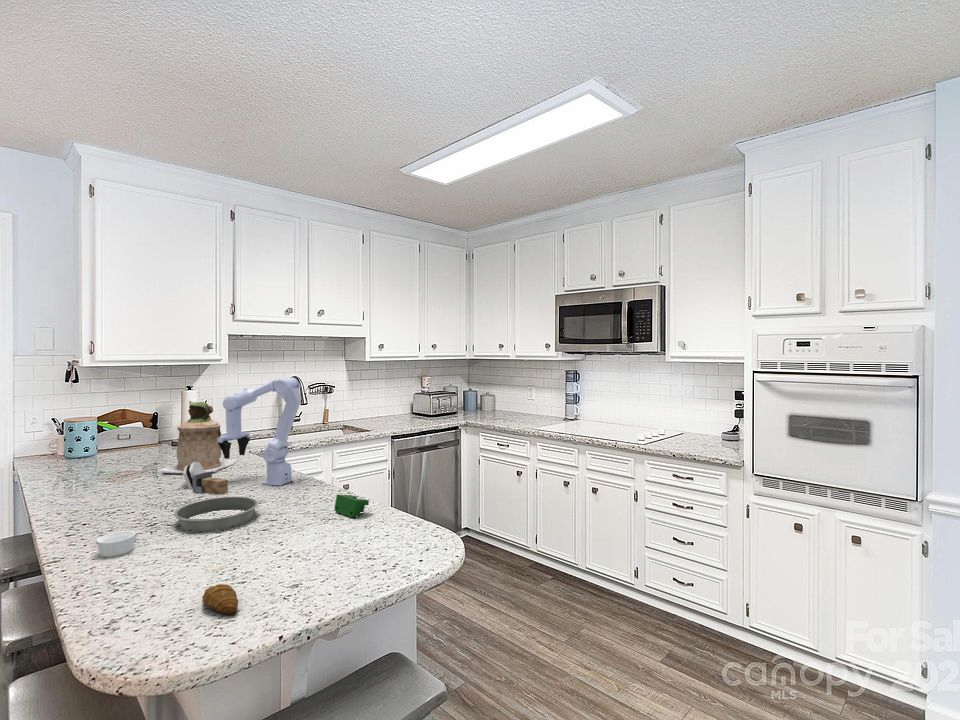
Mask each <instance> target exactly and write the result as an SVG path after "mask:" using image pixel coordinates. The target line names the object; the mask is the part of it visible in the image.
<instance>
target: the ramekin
mask: <svg viewBox="0 0 960 720" xmlns="http://www.w3.org/2000/svg"><path fill="white" fill-rule="evenodd" d="M135 538H136V532H135V531H131V530H124V531H122V530H121V531H117V532H112V533H111V532H110V533H108V534H104V535H101V536H100V537H98V538H97V539H96V544H97V547H98V548H97V549H98V554H99V556H100V557H102V556H103V558H111V557H110V556H113V557H118V556H117V555H119V556H122V554H123V555H125V553H126V554H127V553H130V552H132V551H133V550H134V548H135ZM131 550H132V551H131Z"/></svg>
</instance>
